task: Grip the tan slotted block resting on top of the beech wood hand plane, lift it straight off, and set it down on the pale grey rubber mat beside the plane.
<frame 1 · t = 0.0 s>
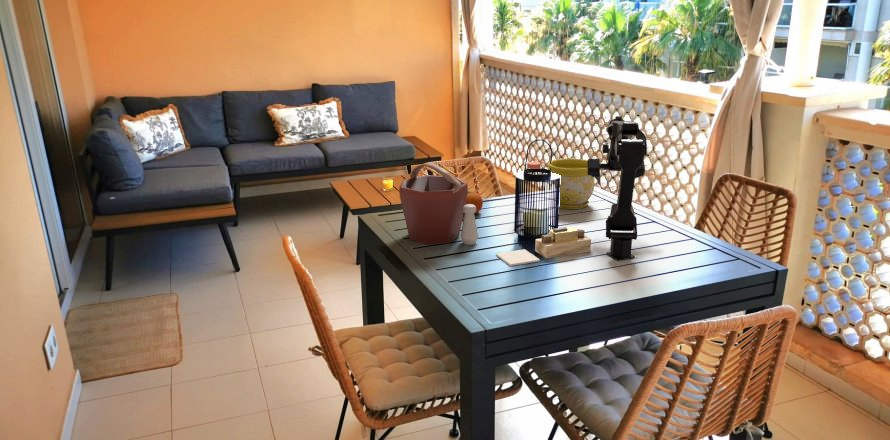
hand: (613, 184, 240), 15 cm above the table, tool tilted 35°, fingers open, 9 cm apart
flowerpot: (569, 205, 269), on the table
tan slotted block: (563, 239, 219), point 4 cm above the table, touching plane body
plane body: (562, 251, 220), on the table
bucket: (432, 237, 236), on the table
mat: (517, 258, 215), on the table
fruit: (468, 213, 261), on the table
bottle: (532, 216, 256), on the table
salt shaker: (469, 243, 229), on the table
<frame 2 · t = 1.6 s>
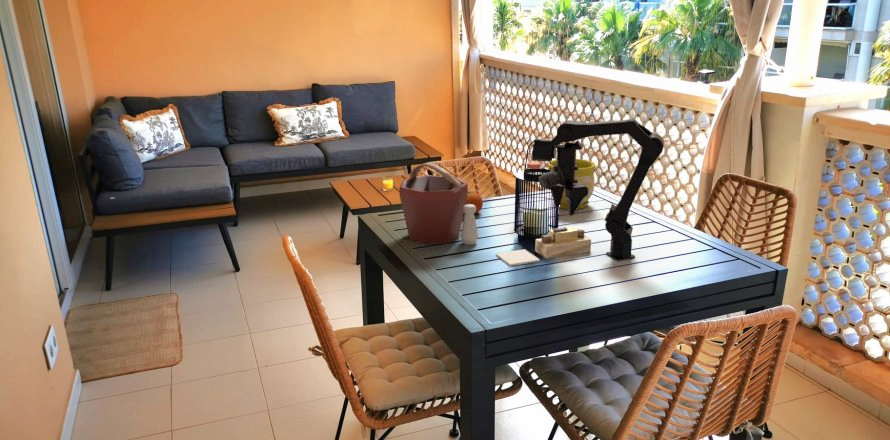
hand: (564, 211, 217), 13 cm above the table, tool pointing down, fingers open, 9 cm apart
nothing on the table moved.
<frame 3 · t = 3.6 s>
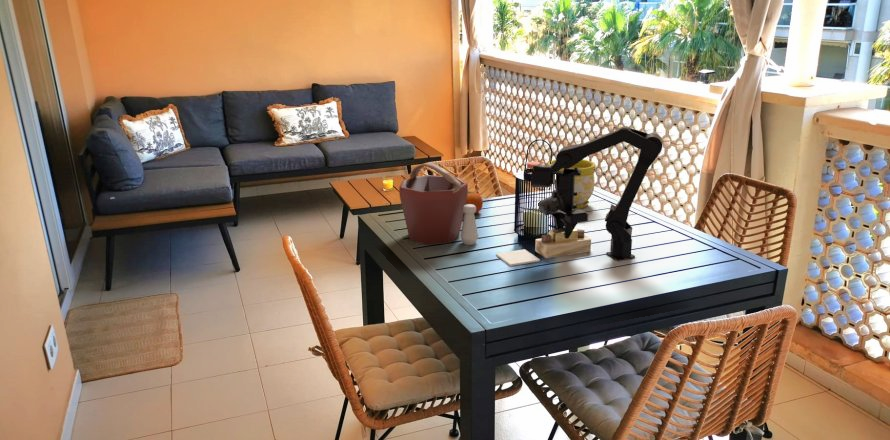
hand: (563, 236, 219), 5 cm above the table, tool pointing down, fingers closed on tan slotted block, 4 cm apart
tan slotted block: (563, 239, 219), point 4 cm above the table, touching gripper, plane body
everything else where it was.
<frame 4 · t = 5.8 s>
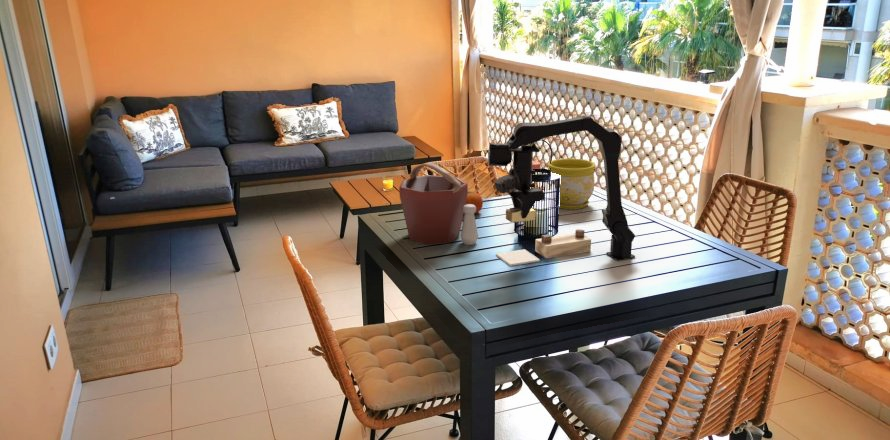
hand: (520, 216, 211), 13 cm above the table, tool pointing down, fingers closed on tan slotted block, 4 cm apart
tan slotted block: (520, 219, 211), point 13 cm above the table, touching gripper
everything else where it was.
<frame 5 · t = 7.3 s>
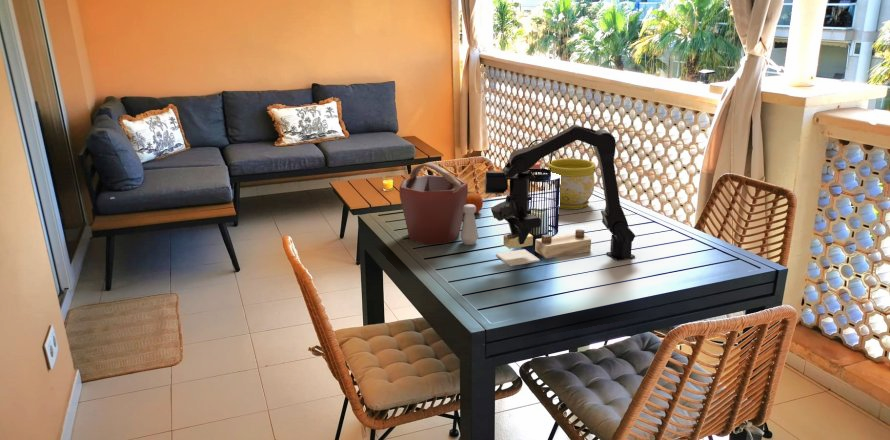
hand: (518, 241, 213), 5 cm above the table, tool pointing down, fingers closed on tan slotted block, 4 cm apart
tan slotted block: (518, 244, 213), point 4 cm above the table, touching gripper
everything else where it was.
when the fingers open (3 cm above the table, at t = 8.4 s): tan slotted block drops 2 cm, resting on mat.
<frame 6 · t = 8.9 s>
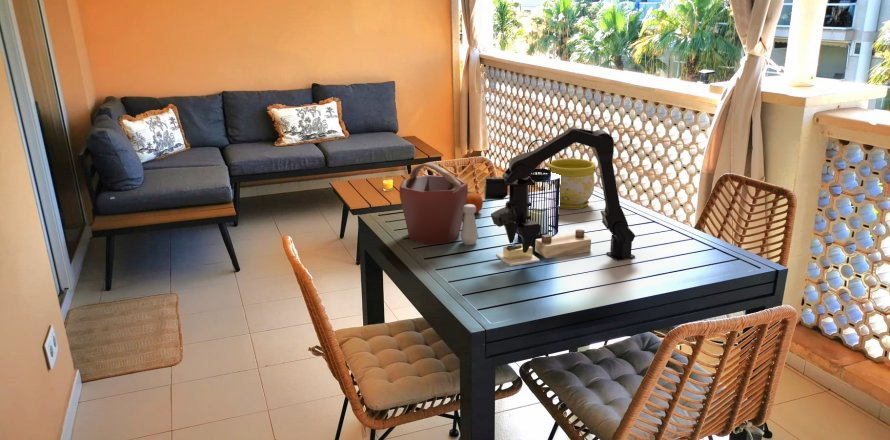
hand: (517, 247, 214), 3 cm above the table, tool pointing down, fingers open, 9 cm apart
tan slotted block: (517, 256, 215), point 1 cm above the table, touching mat
everything else where it was.
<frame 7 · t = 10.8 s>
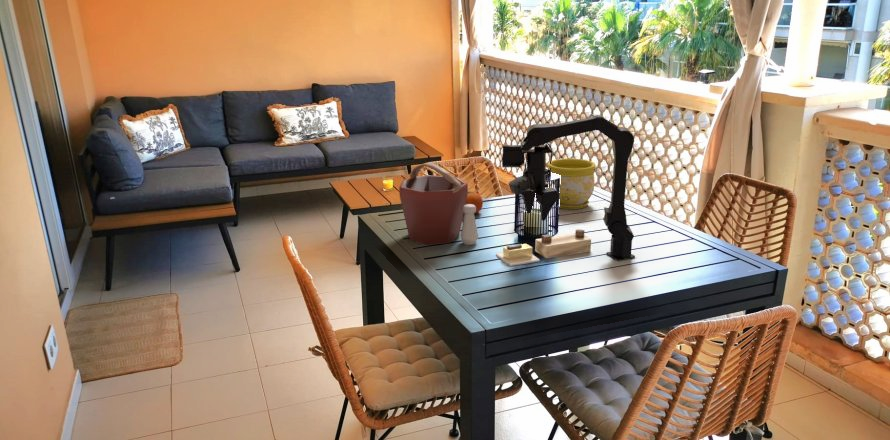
hand: (535, 216, 214), 13 cm above the table, tool pointing down, fingers open, 9 cm apart
nothing on the table moved.
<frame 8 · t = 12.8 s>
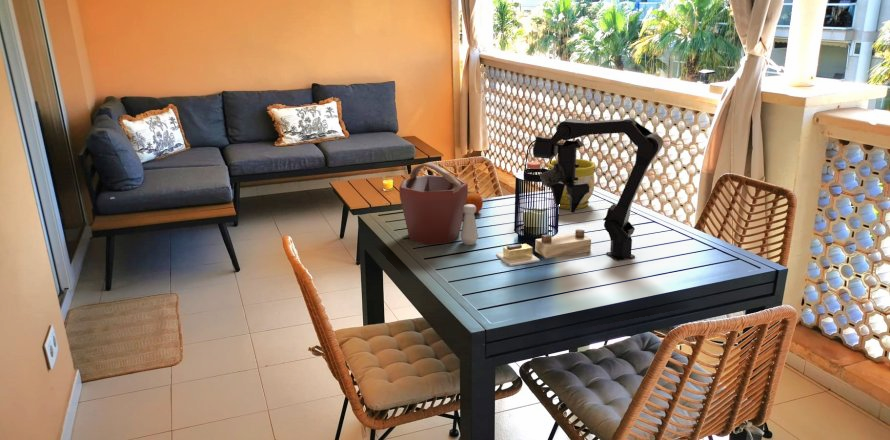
hand: (564, 208, 220), 13 cm above the table, tool pointing down, fingers open, 9 cm apart
nothing on the table moved.
at the end: tan slotted block inside the target area on the mat (0.0 cm from its centre), point 0.6 cm above the mat's base; tan slotted block tilted 0°; the gripper is holding nothing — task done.
